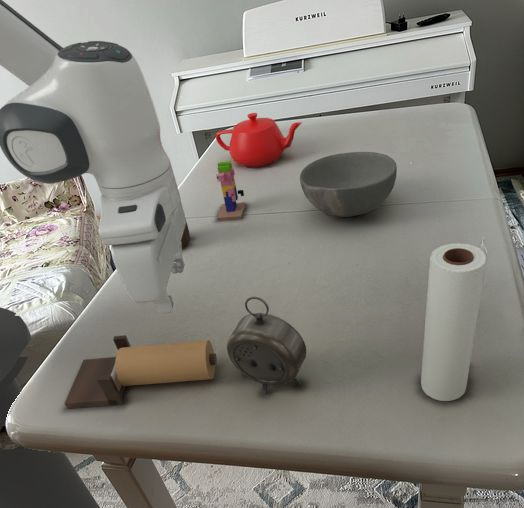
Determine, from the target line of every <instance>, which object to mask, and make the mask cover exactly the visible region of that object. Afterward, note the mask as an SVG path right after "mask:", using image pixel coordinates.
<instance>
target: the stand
mask: <svg viewBox="0 0 524 508" xmlns="http://www.w3.org/2000/svg"><path fill="white" fill-rule="evenodd" d="M112 339H113V342H114V344H115V346H116V349H117V351H118V350H119V349H120V348H124V347H132V346H131V344H130V342H129V338H128V336H127V335H126V334H123V335H114V336H113V338H112ZM115 360H116V356H109V357H100V358H99V357H98V358H87V359H82V362H81V364H80V367H79V369H78V371H77V374H76V376H75V377H74V381H73V383H72V385H71V388H70V390H69V391H68V394H67V396H66V399H65V401H64V406H65V408H66V409H67V410H68V409H69V410H71V409H80V408H81V409H82V408H94V407H95V408H97V407H108V406H109V407H110V406H121V405H123V403H124V399H123V395H124V391H125V388H126V386H123V385H121V383H120V382H119V380H118V377H117V379H116V382H114V380H113V378H112V376H111V373H112V370H113V368H114V365H115Z"/></svg>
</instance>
